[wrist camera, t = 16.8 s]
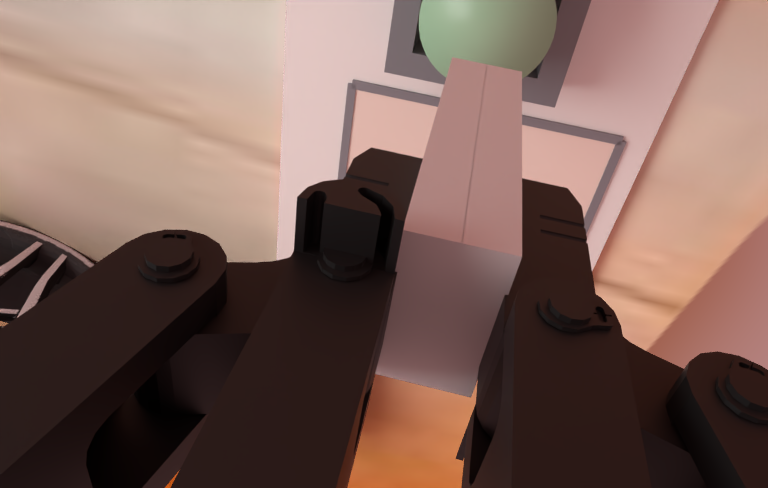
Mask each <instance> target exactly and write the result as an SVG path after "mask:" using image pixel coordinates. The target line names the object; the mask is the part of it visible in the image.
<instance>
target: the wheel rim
mask: <svg viewBox="0 0 768 488" xmlns="http://www.w3.org/2000/svg"><path fill="white" fill-rule="evenodd" d="M93 265H95V264H94V263H92V262H91V261H90V260H88V259H87V258H86V257H84V256H83V255H81V254H80V253H78V252H77V251H76V250H74V249H72V248H70V247H68V246H67V245H65V244H63V243H61V242H59V241H57V240H56V239H53V238H51V237H49V236H46V235H44V234H42V233H39V232H37V231H35V230H31V229H28V228H25V227H22V226H19V225H15V224H12V223H9V222H6V221H2V220H0V321H3V322H7V323H10V322H12V321H13V320H15V319H16V318H17V317H19V316H20V315H22V314H23V313H25V312H26V311H28V310H29V309H31V308H32V307H34V306H35V305H36V304H38V303H39V302H41V301H42V300H44V299H45V298H47V297H48V296H50V295H51V294H53V293H54V292H55V291H57V290H58V289H60V288H61V287H63V286H64V285H66V284H67V283H69V282H70V281H71V280H73V279H74V278H76V277H77V276H79V275H80V274H82V273H83V272H85V271H86V270H88V269H89V268H90V267H92V266H93ZM3 327H4V326H0V329H1V328H3Z"/></svg>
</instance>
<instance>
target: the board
mask: <svg viewBox="0 0 768 488" xmlns="http://www.w3.org/2000/svg"><path fill="white" fill-rule="evenodd" d="M718 1H719V0H591V3H590V6H589V9H588V12H587V15H586V18H585V20H584V23H583V26H582V29H581V32H580V35H579V38H578V41H577V44H576V47H575V50H574V53H573V56H572V59H571V62H570V65H569V67H568V70H567V73H566V76H565V79H564V82H563V85H562V88H561V91H560V94H559V97H558V100H557V103H556V106H555V108H554V107H549V106H544V105H539V104H534V103H530V102H525V101H522V178H524V179H528V180H533V181H537V182H542V183H546V184H551V185H556V186H560V187H565V188H568V189H569V190H570V192H571V193H572V194H573V196H574V197H575V198H576V199H577V201H578V202H579V203H580V205H581V206H582V210H583V217H584V223H585V225H584V228H585V230H586V236H587V241H586V243H588V249H589V255H590V262H591V268H592V271H593V269H594V266H595V264H596V262H597V260H598V258H599V256H600V254H601V251H602V249H603V247H604V245H605V243H606V241H607V239H608V236H609V234H610V232H611V230H612V228H613V226H614V224H615V222H616V219H617V217H618V215H619V213H620V211H621V209H622V207H623V204H624V202H625V200H626V198H627V196H628V194H629V192H630V189H631V187H632V185H633V183H634V181H635V179H636V177H637V174H638V172H639V170H640V168H641V166H642V164H643V162H644V159H645V157H646V155H647V153H648V151H649V149H650V147H651V144H652V142H653V140H654V138H655V136H656V134H657V132H658V129H659V127H660V125H661V123H662V121H663V119H664V117H665V114H666V112H667V110H668V108H669V106H670V104H671V102H672V99H673V97H674V95H675V93H676V91H677V89H678V87H679V84H680V82H681V80H682V78H683V76H684V74H685V72H686V69H687V67H688V65H689V63H690V61H691V59H692V57H693V54H694V52H695V50H696V48H697V46H698V44H699V42H700V39H701V37H702V35H703V33H704V31H705V29H706V27H707V24H708V22H709V20H710V18H711V16H712V14H713V12H714V9H715V7H716V5H717V3H718ZM393 7H394V0H286V25H285V51H284V78H283V105H282V131H281V158H280V185H279V212H278V238H277V260H281V259H285V258H288V257H291V255H292V253H293V251H294V240H295V223H296V207H297V196H299V195H300V194H301V193H302V192H303V191H304V190H305V189H306V188H307V187H309V186H312V185H314V184H317V183H319V182H322V181H329V180H339V179H344V177H345V176H346V173H347V171H348V169H349V167H350V165H351V163H352V161H353V159H354V158H355V157H357V156H358V155H360V154H361V153H363V152H365V151H366V150H368V149H370V148H371V147H372V148H377V149H381V150H386V151H390V152H395V153H399V154H404V155H409V156H413V157H418V158H422V159H423V157H424V153H425V150H426V146H427V143H428V139H429V136H430V133H431V129H432V126H433V122H434V119H435V115H436V112H437V108H438V105H439V101H440V98H441V94H442V91H443V88H444V85H443V84H439V83H434V82H429V81H424V80H419V79H415V78H410V77H405V76H400V75H395V74H391V73H386V72H384V69H385V62H386V56H387V49H388V42H389V35H390V28H391V21H392V14H393Z"/></svg>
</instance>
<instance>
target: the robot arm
mask: <svg viewBox="0 0 768 488" xmlns="http://www.w3.org/2000/svg"><path fill="white" fill-rule="evenodd" d="M584 225H585V223H584V217H583V210H582V206H581V205H580V203H579V202H578V201H577V199H576V198H575V197H574V196H573V194H572V193H571V192H570V190H569V189H568V188H565V187H560V186H556V185H551V184H546V183H542V182H537V181H533V180H528V179H524V178H522V71H517V70H512V69H507V68H502V67H497V66H493V65H488V64H483V63H478V62H473V61H468V60H464V59H459V58H454V57H452V60H451V63H450V67H449V70H448V74H447V77H446V81H445V84H444V88H443V91H442V94H441V98H440V101H439V105H438V108H437V112H436V115H435V119H434V122H433V126H432V129H431V133H430V136H429V139H428V143H427V146H426V150H425V153H424V157H423V159H422V158H418V157H413V156H409V155H404V154H399V153H395V152H390V151H386V150H381V149H377V148H372V147H371V148H370V149H368V150H366V151H365V152H363V153H361V154H360V155H358V156H357V157H355V158H354V159H353V161H352V163H351V165H350V167H349V169H348V171H347V173H346V176H345V177H344V179H339V180H329V181H322V182H319V183H317V184H314V185H312V186H309V187H307V188H306V189H305V190H304V191H303V192H302V193H301V194H300V195H299V196H297V207H296V223H295V240H294V251H293V253H292V255H291V257H288V258H285V259H281V260H277V261H272V262H258V263H243V262H227V256H226V254H225V253H224V251H223V249H222V248H221V246H220V244H219V243H217V242H216V241H214V240H212V239H211V238H209V237H208V236H206V235H204V234H200V233H196V232H192V231H188V230H162V231H157V232H152V233H147V234H144V235H142V236H140V237H138V238H135V239H133V240H131V241H129V242H127V243H126V244H124V245H123V246H121V247H120V248H118V249H117V250H115V251H114V252H112V253H111V254H109V255H108V256H107V257H105V258H104V259H102V260H101V261H99V262H98V263H96V264H95V265H93V266H92V267H90V268H89V269H88V270H86V271H85V272H83V273H82V274H80V275H79V276H77V277H76V278H74V279H73V280H71V281H70V282H69V283H67V284H66V285H64V286H63V287H61V288H60V289H58V290H57V291H55V292H54V293H53V294H51V295H50V296H48V297H47V298H45V299H44V300H42V301H41V302H39V303H38V304H36V305H35V306H34V307H32V308H31V309H29V310H28V311H26V312H25V313H23V314H22V315H20V316H19V317H17V318H16V319H15V320H13V321H12V322H10V323H9V324H7V325H6V326H4V327H3V328H1V329H0V488H165V486H166V485H167V484H168V483H169V482H170V481H171V479H172V478H173V477H174V476H175V475H176V473H177V472H178V471H179V470H180V471H179V473H178V474H177V476H176V478H175V480H174V482H173V484H172V486H171V488H347V486H348V482H349V478H350V474H351V471H352V467H353V463H354V459H355V455H356V451H357V447H358V443H359V439H360V436H361V432H362V428H363V424H364V420H365V416H366V412H367V408H368V404H369V400H370V395H371V390H372V385H373V380H374V376H375V374H377V375H381V376H385V377H390V378H394V379H398V380H402V381H406V382H410V383H414V384H418V385H422V386H426V387H430V388H434V389H439V390H443V391H447V392H451V393H455V394H459V395H463V396H467V397H471V396H472V393H473V391H474V388H475V385H476V382H477V380H478V384H477V397H476V405H475V407H474V410H473V413H472V415H471V418H470V421H469V423H468V426H467V429H466V431H465V434H464V437H463V439H462V442H461V445H460V447H459V450H458V453H457V456H456V459H459V460H463V459H464V467H463V478H462V488H768V370H767V369H765V368H763V367H762V366H760V365H758V364H756V363H754V362H751V361H749V360H747V359H745V358H742V357H740V356H736V355H732V354H727V353H722V352H710V353H701V354H699V355H698V356H697V357H695V358H694V359H692V360H691V361H690V362H689V363H688V365H687V366H686V367H685V369H683V368H681V367H678V366H676V365H674V364H672V363H670V362H668V361H666V360H664V359H661V358H659V357H657V356H655V355H653V354H651V353H649V352H647V351H645V350H643V349H641V348H639V347H638V346H636V345H634V344H632V343H631V342H629V341H628V340H627V339H625V338H624V337H623V335H622V330H621V325H620V323H619V321H618V319H617V316H616V314H615V312H614V311H613V310H612V309H611V308H610V307H609V305H608V304H607V303H606V302H605V301H604V300H603V299H602V298H601V297H599V296H597V295H596V294H595V288H594V281H593V275H592V268H591V262H590V255H589V249H588V243H586V241H587V236H586V230H585V228H584Z"/></svg>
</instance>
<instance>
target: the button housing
mask: <svg viewBox="0 0 768 488" xmlns="http://www.w3.org/2000/svg"><path fill="white" fill-rule="evenodd" d="M422 1H423V0H394V7H393V14H392V21H391V28H390V35H389V42H388V49H387V56H386V62H385V69H384V72H386V73H391V74H395V75H400V76H405V77H410V78H415V79H419V80H424V81H429V82H434V83H439V84H443V85H444V84H445V81H446V77H444V76H443V75H442V74H441V73H440V72H439V71H438V70H437V69H436V68H435V67H434V66H433V65H432V63H431V62H430V60H429V59H428V57H427V55H426V53H425V51H424V49H423V46H422V42H421V39H420V33H419V14H420V8H421V4H422ZM555 3H556V9H557V23H556V30H555V34H554V38H553V41H552V43H551V46H550V48H549V50H548V52H547V54H546V55H545V57H544V58H543V60H542V61H541V63H540V64H539V65H538V66H537V67H536V68H535V69H534V70H533V71H532V72H531V73H529V74H528V75H527V76H526V77H524V78H523V79H522V101H525V102H530V103H534V104H539V105H544V106H549V107H554V108H555V106H556V103H557V100H558V97H559V94H560V91H561V88H562V85H563V82H564V79H565V76H566V73H567V70H568V67H569V65H570V62H571V59H572V56H573V53H574V50H575V47H576V44H577V41H578V38H579V35H580V32H581V29H582V26H583V23H584V20H585V18H586V15H587V12H588V9H589V6H590V3H591V0H555Z"/></svg>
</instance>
